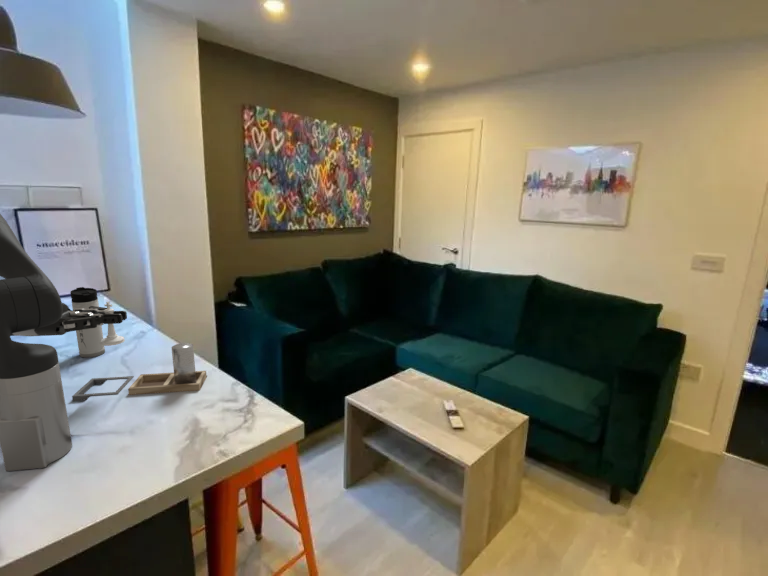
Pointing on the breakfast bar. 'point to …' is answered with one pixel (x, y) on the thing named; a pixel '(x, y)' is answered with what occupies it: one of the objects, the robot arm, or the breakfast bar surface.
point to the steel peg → (184, 363)
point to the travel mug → (92, 336)
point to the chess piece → (111, 331)
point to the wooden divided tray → (164, 384)
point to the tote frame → (80, 394)
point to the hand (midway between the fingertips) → (123, 316)
